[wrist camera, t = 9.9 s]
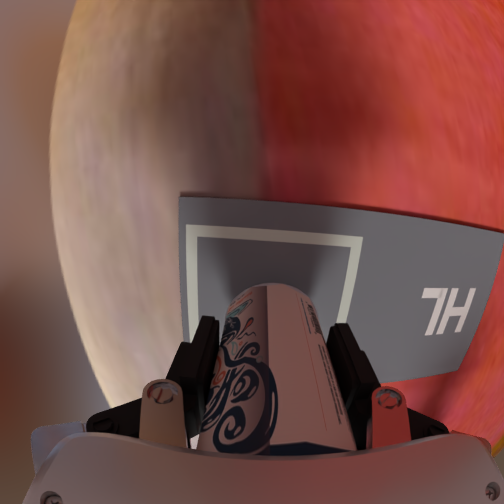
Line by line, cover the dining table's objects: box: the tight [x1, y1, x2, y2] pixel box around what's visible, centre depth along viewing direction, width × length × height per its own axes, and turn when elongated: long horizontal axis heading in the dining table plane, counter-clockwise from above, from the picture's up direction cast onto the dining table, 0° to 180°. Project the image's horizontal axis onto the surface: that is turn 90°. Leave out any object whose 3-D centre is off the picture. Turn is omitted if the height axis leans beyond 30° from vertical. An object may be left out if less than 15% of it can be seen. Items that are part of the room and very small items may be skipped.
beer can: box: [196, 283, 357, 456], centre depth 8 cm, size 5×5×12 cm
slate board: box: [179, 197, 504, 383], centre depth 15 cm, size 12×22×1 cm, turn 87°
